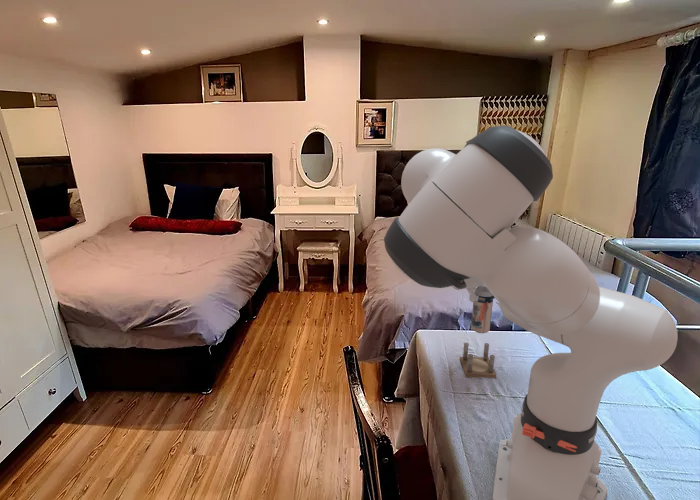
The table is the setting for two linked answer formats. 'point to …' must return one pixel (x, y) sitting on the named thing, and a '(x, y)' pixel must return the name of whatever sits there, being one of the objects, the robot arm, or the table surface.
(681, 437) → the table surface
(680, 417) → the table surface
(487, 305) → the beer can
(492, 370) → the holder
